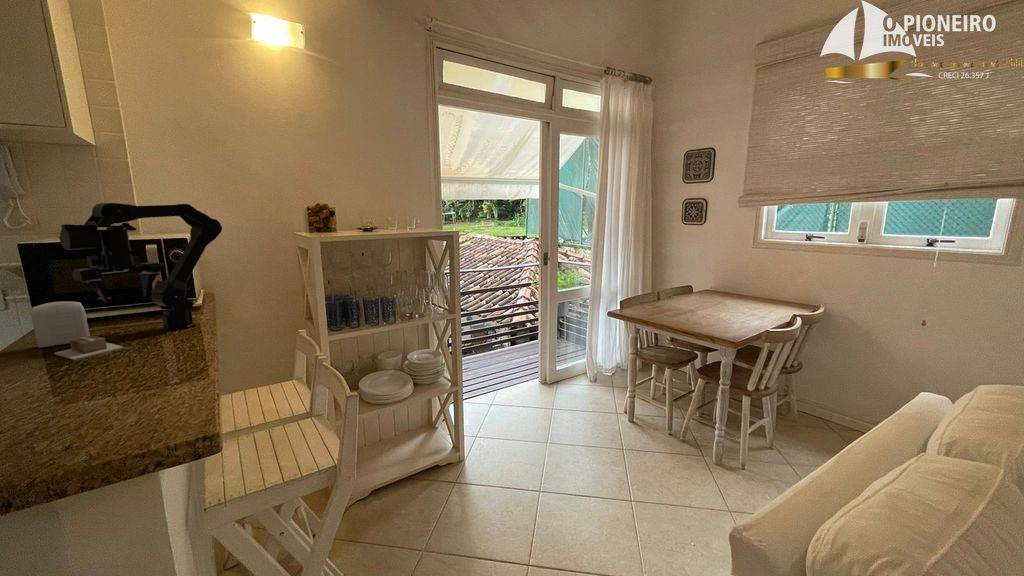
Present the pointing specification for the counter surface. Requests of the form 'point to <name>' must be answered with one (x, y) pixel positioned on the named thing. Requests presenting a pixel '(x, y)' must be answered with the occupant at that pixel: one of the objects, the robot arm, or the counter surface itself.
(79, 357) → the mat
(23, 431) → the counter surface
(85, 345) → the ridged brown block
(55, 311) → the photo printer
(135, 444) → the counter surface
